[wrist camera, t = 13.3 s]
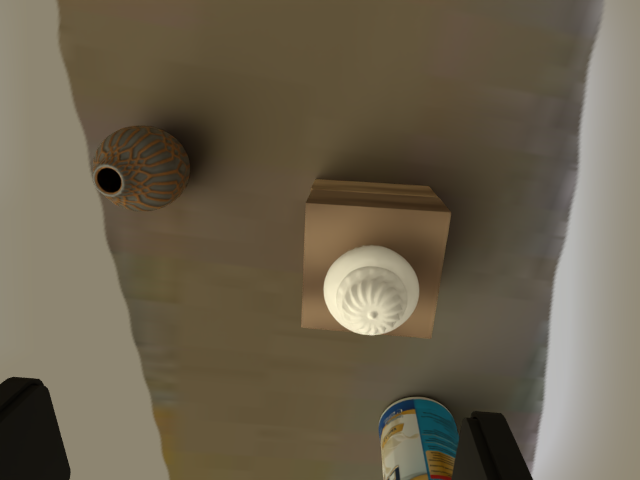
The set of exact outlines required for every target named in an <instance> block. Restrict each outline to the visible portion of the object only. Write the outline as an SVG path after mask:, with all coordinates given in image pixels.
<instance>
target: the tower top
mask: <svg viewBox="0 0 640 480" xmlns="http://www.w3.org/2000/svg"><path fill="white" fill-rule="evenodd" d="M450 218H451V212H450V210H449V209H448V208H447V207H446V206H445V204H444V203H443V202H442V201H441V200H440V198H439V197H424V196H408V195H392V194H377V193H361V192H345V191H330V190H314V189H312V191H311V193H310V195H309V197H308V199H307V202H306V212H305V240H304V268H303V295H302V323H301V328H313V329H324V330H336V331H348V332H353V331H351V330H349V329H347V328H345V327H344V326H342V325H341V324H340V323H339V322H338V321H337V320H336V319H335V318H334V317H333V316H332V314H331V313H330V311H329V309H328V307H327V305H326V302H325V298H324V281H325V277H326V275H327V272H328V270H329V268H330V267H331V265H332V264H333V263H334V262H335V261H336V260H337V259H338V258H339V257H340V256H342V255H343V254H345V253H346V252H348V251H350V250H353V249H355V247H356V248H359V247H362V246H363V245H364V246H371V245H373V246H383V247H385V248H388V249H390V250H392V251H394V252H396V253H397V254H399V255H400V256H402V257H403V258H404V259H405V260H406V261H407V262H408V263H409V264H410V265H411V267H412V268H413V270H414V272H415V274H416V276H417V279H418V283H419V298H418V302H417V305H416V308H415V310H414V311H413V313H412V314H411V316H410V317H409V318H408V319H407V320H406V321H405V322H404V323H403V324H402V325H400V326H399V327H397V328H396V329H394V330H392V331H390V332H387V333H384V334H383V335H395V336H406V337H418V338H430V339H431V336H432V330H433V324H434V318H435V311H436V305H437V299H438V293H439V286H440V280H441V274H442V268H443V261H444V255H445V249H446V243H447V236H448V230H449V224H450Z"/></svg>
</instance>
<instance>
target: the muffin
mask: <svg viewBox="0 0 640 480" xmlns="http://www.w3.org/2000/svg"><path fill="white" fill-rule="evenodd" d="M324 298H325V302H326V305H327V307H328V309H329V311H330V313H331V314H332V316H333V317H334V318H335V319H336V320H337V321H338V322H339V323H340V324H341V325H342V326H344V327H345V328H347V329H349V330H351V331H353V332H355V333H359V334H364V335H379V334H384V333H387V332H390V331H392V330H394V329H396V328H397V327H399V326H400V325H402V324H403V323H404V322H405V321H406V320H407V319H408V318H409V317H410V316H411V314H412V313H413V311H414V310H415V308H416V305H417V302H418V298H419V283H418V279H417V276H416V274H415V272H414V270H413V268H412V267H411V265H410V264H409V263H408V262H407V261H406V260H405V259H404V258H403V257H402V256H400V255H399V254H397V253H396V252H394V251H392V250H390V249H388V248H385V247H383V246H373V245H371V246H364V245H363V246H362V247H359V248H356V247H355V249H353V250H350V251H348V252H346V253H345V254H343V255H342V256H340V257H339V258H338V259H337V260H336V261H335V262H334V263H333V264H332V265H331V267H330V268H329V270H328V272H327V275H326V277H325V281H324Z"/></svg>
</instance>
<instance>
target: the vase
mask: <svg viewBox="0 0 640 480" xmlns="http://www.w3.org/2000/svg"><path fill="white" fill-rule="evenodd" d="M189 176H190V163H189V158H188V156H187V153H186V151H185V149H184V148H183V146H182V145H181V144H180V142H179V141H178V140H177V139H176V138H174V137H173V136H172V135H170V134H169V133H167V132H165V131H163V130H161V129H158V128H155V127H151V126H130V127H126V128H122V129H120V130H118V131H116V132H114V133H112V134H111V135H109V136H108V137H107V138H106V139H105V140H104V141H103V142H102V143H101V144H100V146H99V147H98V149H97V151H96V153H95V156H94V160H93V183H94V185H95V187H96V188H97V190H98V191H99V192H100V193H102V194H103V195H104V196H105V197H106V198H107V199H109V200H110V201H111V202H113V203H114V204H116V205H118V206H120V207H122V208H125V209H128V210H133V211H152V210H157V209H160V208H163V207H165V206H167V205H169V204H170V203H172V202H173V201H174V200H176V199H177V198H178V197H179V196H180V195H181V194H182V192H183V191H184V189H185V188H186V186H187V183H188V180H189Z"/></svg>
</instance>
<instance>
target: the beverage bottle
mask: <svg viewBox="0 0 640 480" xmlns="http://www.w3.org/2000/svg"><path fill="white" fill-rule="evenodd" d="M379 438H380V444H381V452H382V466H383V480H451V478H452V473H453V468H454V462H455V457H456V452H457V446H458V441H459V435H458V432H457V427H456V424H455V421H454V418H453V416H452V415H451V413H450V412H449V410H448V409H447V408H446V407H445V406H443V405H442V404H440V403H439V402H437V401H435V400H432V399H429V398H425V397H408V398H404V399H401V400H398V401H396V402H394V403H393V404H391V405H390V406H389V407H388V408H387V409H386V410H385V411H384V413H383V414H382V416H381V418H380V422H379Z"/></svg>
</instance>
